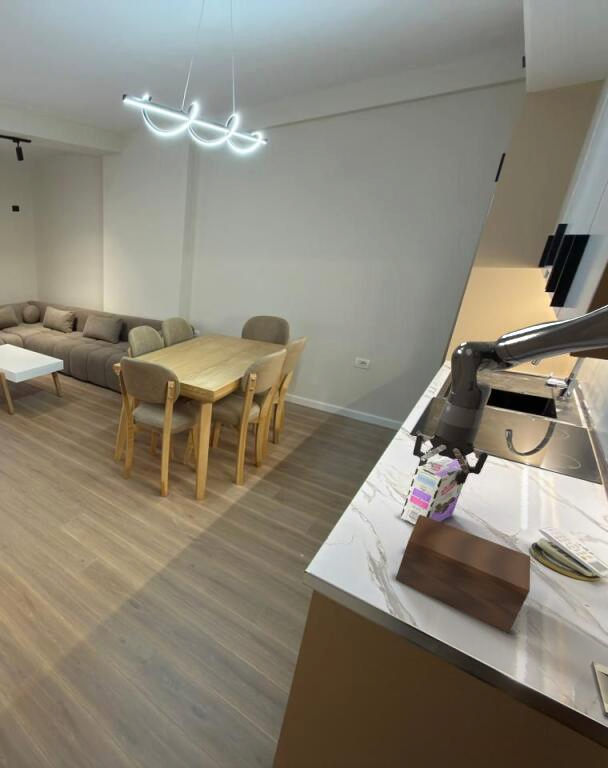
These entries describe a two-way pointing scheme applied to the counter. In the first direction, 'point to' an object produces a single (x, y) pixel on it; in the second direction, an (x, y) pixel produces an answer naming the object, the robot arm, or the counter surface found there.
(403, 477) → the counter surface
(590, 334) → the robot arm
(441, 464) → the candy box
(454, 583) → the walnut wooden block
